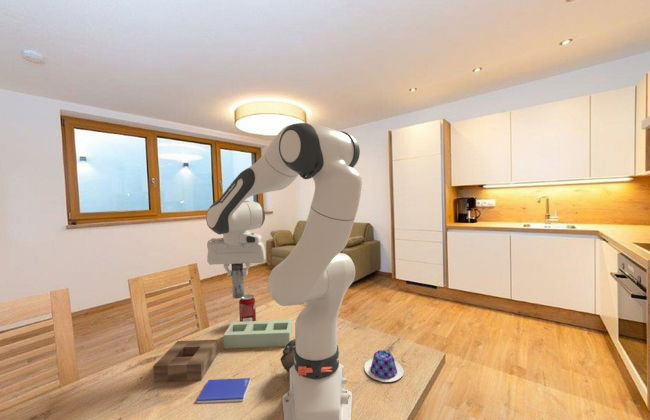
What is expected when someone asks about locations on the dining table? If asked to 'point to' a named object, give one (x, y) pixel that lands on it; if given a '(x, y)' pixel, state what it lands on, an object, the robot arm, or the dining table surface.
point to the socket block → (186, 361)
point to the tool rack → (258, 334)
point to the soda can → (247, 308)
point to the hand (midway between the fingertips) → (237, 275)
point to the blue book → (224, 390)
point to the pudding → (383, 367)
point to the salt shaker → (237, 280)
